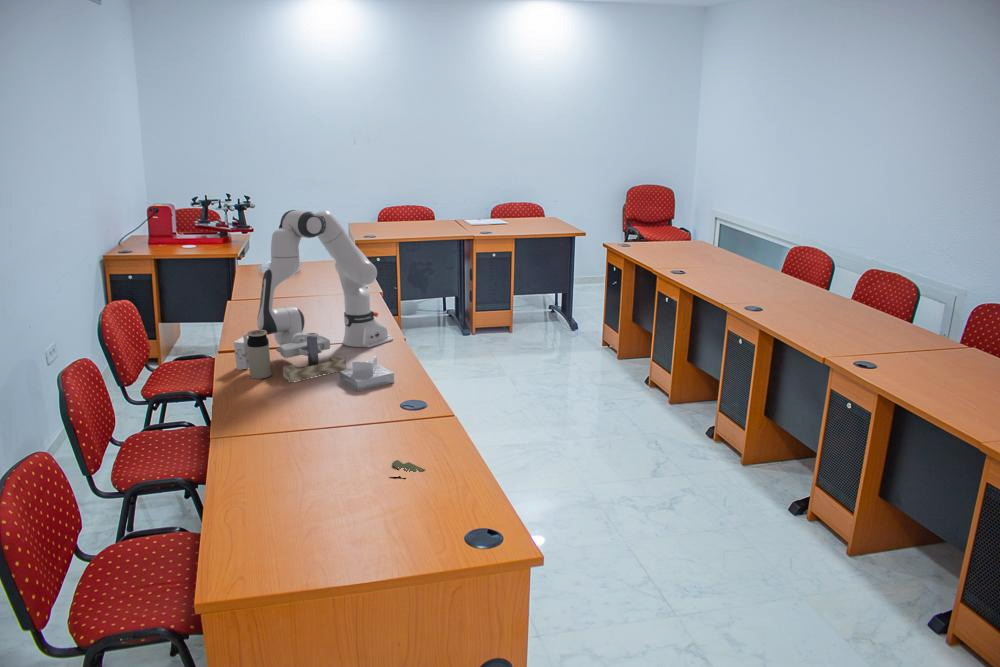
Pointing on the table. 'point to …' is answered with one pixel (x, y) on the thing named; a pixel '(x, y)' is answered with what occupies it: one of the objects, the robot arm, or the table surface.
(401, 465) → the olive green flat piece
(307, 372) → the notched beam
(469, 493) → the table surface
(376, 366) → the v block
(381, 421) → the table surface
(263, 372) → the travel mug
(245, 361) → the ink cartridge box
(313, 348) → the steel axle
